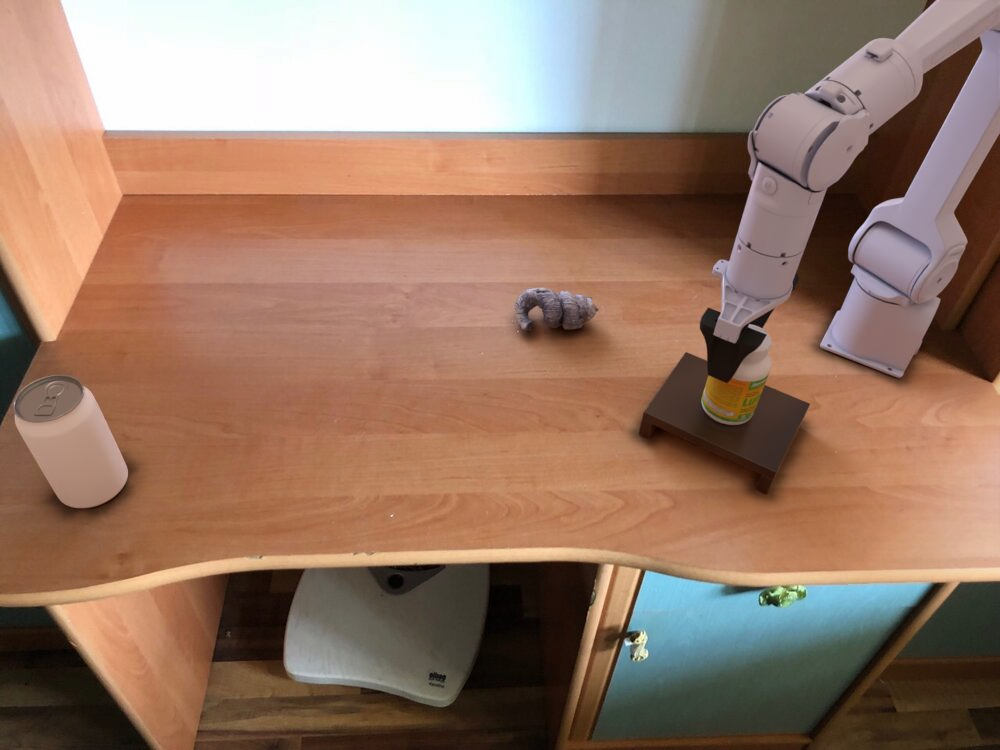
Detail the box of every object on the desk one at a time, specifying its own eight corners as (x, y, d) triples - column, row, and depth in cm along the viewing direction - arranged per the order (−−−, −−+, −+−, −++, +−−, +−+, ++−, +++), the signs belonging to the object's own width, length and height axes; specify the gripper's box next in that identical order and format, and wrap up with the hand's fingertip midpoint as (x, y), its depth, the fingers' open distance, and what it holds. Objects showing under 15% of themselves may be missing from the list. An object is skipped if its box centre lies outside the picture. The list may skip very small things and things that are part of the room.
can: (138, 457, 79) (99, 370, 70) (117, 510, 74) (74, 425, 66) (71, 457, 78) (24, 370, 70) (46, 511, 74) (-7, 425, 65)
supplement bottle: (739, 435, 79) (766, 364, 72) (691, 410, 81) (712, 339, 75) (761, 404, 82) (789, 334, 75) (714, 381, 85) (737, 311, 78)
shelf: (800, 425, 85) (810, 403, 83) (766, 494, 78) (776, 472, 76) (679, 374, 90) (685, 351, 88) (638, 434, 83) (643, 411, 81)
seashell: (513, 334, 96) (594, 334, 97) (518, 326, 90) (604, 325, 92) (511, 291, 96) (592, 291, 97) (517, 280, 91) (602, 280, 92)
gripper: (755, 186, 74) (721, 300, 83) (695, 263, 65) (665, 381, 74) (830, 211, 71) (786, 325, 81) (779, 294, 62) (736, 412, 72)
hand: (732, 354), depth 77 cm, fingers open, 7 cm apart
